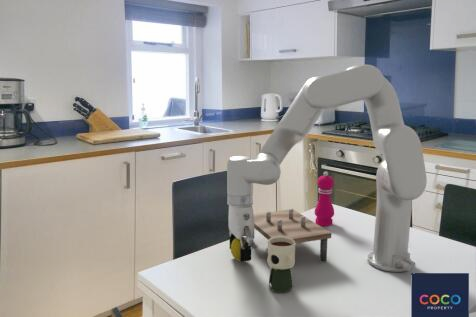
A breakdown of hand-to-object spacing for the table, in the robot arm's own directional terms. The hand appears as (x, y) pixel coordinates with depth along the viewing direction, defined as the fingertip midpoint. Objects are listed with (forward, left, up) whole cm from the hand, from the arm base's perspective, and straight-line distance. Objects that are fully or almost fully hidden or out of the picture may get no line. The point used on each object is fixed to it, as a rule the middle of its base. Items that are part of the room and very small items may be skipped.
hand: (240, 254), depth 127 cm
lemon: (0, 0, -2) cm, 2 cm away
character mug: (-19, -4, -2) cm, 20 cm away
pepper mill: (+19, -41, -2) cm, 45 cm away
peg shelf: (+2, -16, -2) cm, 16 cm away
